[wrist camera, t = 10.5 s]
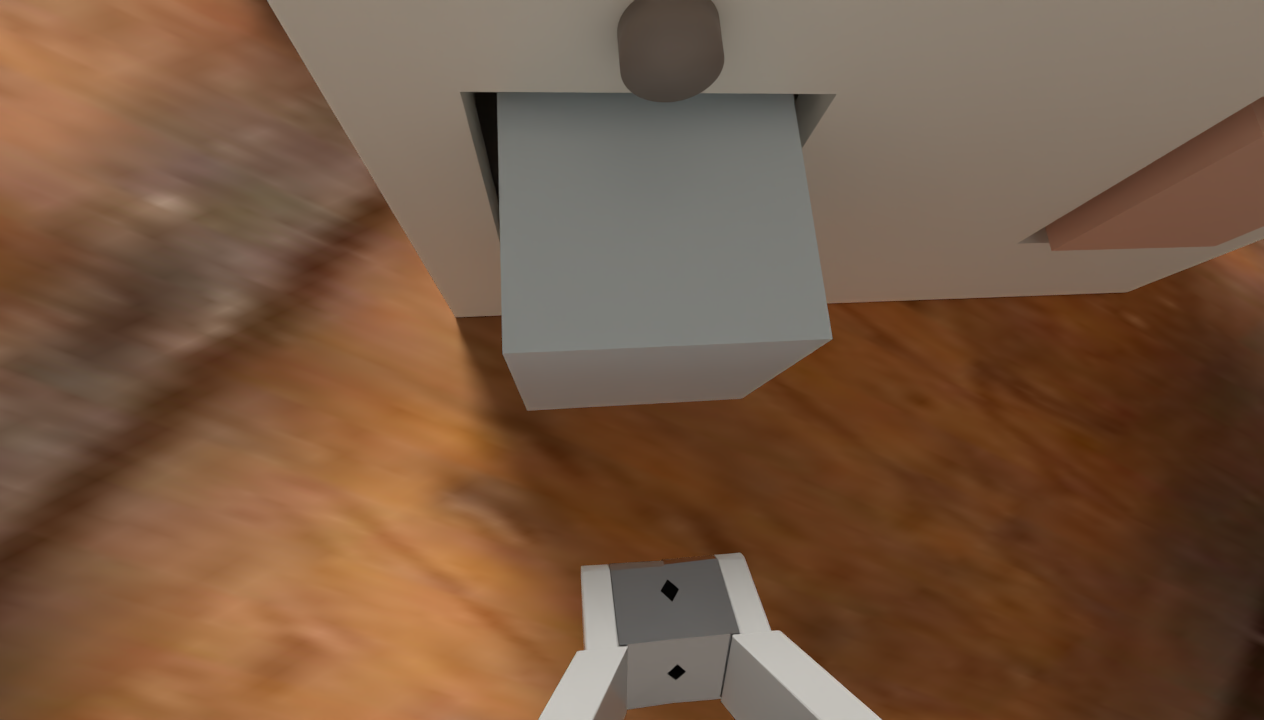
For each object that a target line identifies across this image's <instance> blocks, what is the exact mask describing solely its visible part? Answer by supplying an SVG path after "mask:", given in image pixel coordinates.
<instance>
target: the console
mask: <svg viewBox="0 0 1264 720" xmlns="http://www.w3.org/2000/svg"><path fill="white" fill-rule="evenodd" d="M267 2H268V3H269V5H270V7H271V8H272V10H273V12H274V13H275V15H276V17H277V18H278V20H279V22H280V23H281V25H282V27H283V28H284V30H285V32H286V33H287V35H288V37H289V38H290V40H291V42H292V44H293V45H294V47H295V49H296V50H297V52H298V54H299V55H300V57H301V59H302V60H303V62H304V64H305V65H306V67H307V69H308V70H309V72H310V74H311V75H312V77H313V79H314V81H315V82H316V84H317V86H318V87H319V89H320V91H321V92H322V94H323V96H324V97H325V99H326V101H327V102H328V104H329V106H330V107H331V109H332V111H333V112H334V114H335V116H336V117H337V119H338V121H339V123H340V124H341V126H342V128H343V129H344V131H345V133H346V134H347V136H348V138H349V139H350V141H351V143H352V144H353V146H354V148H355V149H356V151H357V153H358V154H359V156H360V158H361V159H362V161H363V163H364V165H365V166H366V168H367V170H368V171H369V173H370V175H371V176H372V178H373V180H374V181H375V183H376V185H377V186H378V188H379V190H380V191H381V193H382V195H383V196H384V198H385V200H386V202H387V203H388V205H389V207H390V208H391V210H392V212H393V213H394V215H395V217H396V218H397V220H398V222H399V223H400V225H401V227H402V228H403V230H404V232H405V233H406V235H407V237H408V238H409V240H410V242H411V244H412V245H413V247H414V249H415V250H416V252H417V254H418V255H419V257H420V259H421V260H422V262H423V264H424V265H425V267H426V269H427V270H428V272H429V274H430V275H431V277H432V279H433V280H434V282H435V284H436V286H437V287H438V289H439V291H440V292H441V294H442V296H443V297H444V299H445V301H446V302H447V304H448V306H449V307H450V309H451V311H452V312H453V314H454V316H455V317H475V316H502V309H501V261H500V214H499V166H498V118H497V92H576V93H633V94H635V95H636V96H638V97H640V98H643V99H645V100H649V101H654V102H675V101H681V100H685V99H688V98H691V97H693V96H695V95H697V94H699V93H738V94H793V98H794V104H795V110H796V116H797V122H798V129H799V135H800V141H801V147H802V153H803V159H804V166H805V172H806V178H807V184H808V190H809V196H810V202H811V209H812V215H813V221H814V227H815V233H816V239H817V245H818V252H819V258H820V264H821V270H822V276H823V282H824V289H825V295H826V301H827V303H853V302H880V301H907V300H934V299H961V298H988V297H1015V296H1042V295H1069V294H1096V293H1123V292H1129V291H1131V290H1134V289H1137V288H1139V287H1142V286H1144V285H1147V284H1149V283H1152V282H1154V281H1157V280H1159V279H1162V278H1165V277H1167V276H1170V275H1172V274H1175V273H1177V272H1180V271H1182V270H1185V269H1187V268H1190V267H1193V266H1195V265H1198V264H1200V263H1203V262H1205V261H1208V260H1210V259H1213V258H1215V257H1218V256H1220V255H1223V254H1226V253H1228V252H1231V251H1233V250H1236V249H1238V248H1241V247H1243V246H1246V245H1248V244H1251V243H1254V242H1256V241H1259V240H1261V239H1264V226H1263V227H1261V228H1258V229H1256V230H1254V231H1251V232H1249V233H1246V234H1244V235H1241V236H1239V237H1237V238H1234V239H1232V240H1229V241H1227V242H1224V243H1222V244H1220V245H1217V246H1211V247H1175V248H1138V249H1102V250H1066V251H1051V247H1050V243H1049V240H1048V236H1047V232H1046V228H1045V227H1046V226H1047V225H1049V224H1051V223H1052V222H1054V221H1056V220H1057V219H1059V218H1061V217H1062V216H1064V215H1066V214H1067V213H1069V212H1071V211H1072V210H1074V209H1076V208H1077V207H1079V206H1081V205H1082V204H1084V203H1086V202H1087V201H1089V200H1091V199H1092V198H1094V197H1096V196H1097V195H1099V194H1101V193H1102V192H1104V191H1106V190H1107V189H1109V188H1111V187H1112V186H1114V185H1116V184H1117V183H1119V182H1121V181H1122V180H1124V179H1126V178H1127V177H1129V176H1131V175H1132V174H1134V173H1136V172H1137V171H1139V170H1141V169H1142V168H1144V167H1146V166H1147V165H1149V164H1151V163H1152V162H1154V161H1156V160H1157V159H1159V158H1161V157H1162V156H1164V155H1166V154H1167V153H1169V152H1171V151H1172V150H1174V149H1176V148H1177V147H1179V146H1181V145H1182V144H1184V143H1186V142H1187V141H1189V140H1191V139H1192V138H1194V137H1196V136H1197V135H1199V134H1201V133H1202V132H1204V131H1206V130H1207V129H1209V128H1211V127H1212V126H1214V125H1216V124H1217V123H1219V122H1221V121H1222V120H1224V119H1226V118H1227V117H1229V116H1231V115H1233V114H1234V113H1236V112H1238V111H1239V110H1241V109H1243V108H1244V107H1246V106H1248V105H1249V104H1251V103H1253V102H1254V101H1256V100H1258V99H1259V98H1261V97H1264V0H267Z"/></svg>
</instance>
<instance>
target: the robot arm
mask: <svg viewBox="0 0 1264 720" xmlns="http://www.w3.org/2000/svg"><path fill="white" fill-rule="evenodd" d="M581 592H582V622H583V644H584V650H581V651H577V652H576V654H575V656H574V658H573V659H572V661H571V663H570V665H569V666H568V668H567V670H566V672H565V673H564V675H563V677H562V679H561V680H560V682H559V684H558V686H557V687H556V689H555V691H554V693H553V694H552V696H551V698H550V700H549V701H548V703H547V705H546V707H545V708H544V710H543V712H542V714H541V716H540V717H539V719H538V720H624V718H625V716H626V712H627V710H628V709H635V708H642V707H649V706H656V705H662V704H669V703H673V702H674V703H678V702H690V701H701V700H713V699H721V702H722V703H723V705H724V706H725V707H726V708H727V710H728V711H729V712H730V713H731V715H732V716H733V717H734V718H735V719H736V720H882V719H881V718H880V717H878V716H877V715H876V714H875V713H874V712H873V711H872V710H870V709H869V708H868V707H867V706H866V705H865V704H864V703H862V702H861V701H860V700H859V699H858V698H857V697H856V696H854V695H853V694H852V693H851V692H850V691H849V690H848V689H846V688H845V687H844V686H843V685H842V684H841V683H840V682H838V681H837V680H836V679H835V678H834V677H833V676H832V675H830V674H829V673H828V672H827V671H826V670H825V669H824V668H822V667H821V666H820V665H819V664H818V663H817V662H816V661H814V660H813V659H812V658H811V657H810V656H809V655H808V654H806V653H805V652H804V651H803V650H802V649H801V648H800V647H798V646H797V645H796V644H795V643H794V642H793V641H792V640H790V639H789V638H788V637H787V636H786V635H785V634H783V633H782V632H781V631H780V630H775V631H772V630H771V628H770V625H769V622H768V619H767V617H766V614H765V611H764V608H763V606H762V603H761V600H760V598H759V595H758V592H757V589H756V587H755V584H754V581H753V579H752V576H751V573H750V570H749V568H748V565H747V562H746V560H745V557H744V556H743V555H742V554H741V553H730V554H719V555H714V556H713V555H702V556H692V557H682V558H672V559H662V560H661V561H647V562H630V563H613V564H609V565H608V564H601V565H587V566H581Z"/></svg>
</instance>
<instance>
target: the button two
mask: <svg viewBox="0 0 1264 720" xmlns="http://www.w3.org/2000/svg"><path fill="white" fill-rule="evenodd" d="M1263 226H1264V97H1261V98H1259V99H1258V100H1256V101H1254V102H1253V103H1251V104H1249V105H1248V106H1246V107H1244V108H1243V109H1241V110H1239V111H1238V112H1236V113H1234V114H1233V115H1231V116H1229V117H1227V118H1226V119H1224V120H1222V121H1221V122H1219V123H1217V124H1216V125H1214V126H1212V127H1211V128H1209V129H1207V130H1206V131H1204V132H1202V133H1201V134H1199V135H1197V136H1196V137H1194V138H1192V139H1191V140H1189V141H1187V142H1186V143H1184V144H1182V145H1181V146H1179V147H1177V148H1176V149H1174V150H1172V151H1171V152H1169V153H1167V154H1166V155H1164V156H1162V157H1161V158H1159V159H1157V160H1156V161H1154V162H1152V163H1151V164H1149V165H1147V166H1146V167H1144V168H1142V169H1141V170H1139V171H1137V172H1136V173H1134V174H1132V175H1131V176H1129V177H1127V178H1126V179H1124V180H1122V181H1121V182H1119V183H1117V184H1116V185H1114V186H1112V187H1111V188H1109V189H1107V190H1106V191H1104V192H1102V193H1101V194H1099V195H1097V196H1096V197H1094V198H1092V199H1091V200H1089V201H1087V202H1086V203H1084V204H1082V205H1081V206H1079V207H1077V208H1076V209H1074V210H1072V211H1071V212H1069V213H1067V214H1066V215H1064V216H1062V217H1061V218H1059V219H1057V220H1056V221H1054V222H1052V223H1051V224H1049V225H1047V226H1046V227H1045V228H1046V232H1047V236H1048V240H1049V243H1050V247H1051V251H1066V250H1102V249H1138V248H1175V247H1211V246H1217V245H1220V244H1222V243H1224V242H1227V241H1229V240H1232V239H1234V238H1237V237H1239V236H1241V235H1244V234H1246V233H1249V232H1251V231H1254V230H1256V229H1258V228H1261V227H1263Z"/></svg>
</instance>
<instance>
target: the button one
mask: <svg viewBox="0 0 1264 720" xmlns="http://www.w3.org/2000/svg"><path fill="white" fill-rule="evenodd" d="M497 118H498V166H499V214H500V261H501V309H502V354H503V356H504V358H505V361H506V363H507V365H508V368H509V370H510V372H511V375H512V377H513V379H514V381H515V384H516V386H517V388H518V391H519V393H520V395H521V398H522V400H523V402H524V405H525V407H526V409H527V411H531V410H549V409H567V408H585V407H603V406H621V405H639V404H657V403H675V402H693V401H711V400H728V399H742V398H744V397H745V396H747V395H748V394H750V393H751V392H753V391H754V390H756V389H757V388H759V387H760V386H762V385H763V384H765V383H766V382H768V381H769V380H771V379H773V378H774V377H776V376H777V375H779V374H780V373H782V372H783V371H785V370H786V369H788V368H789V367H791V366H792V365H794V364H795V363H797V362H798V361H800V360H801V359H803V358H804V357H806V356H808V355H809V354H811V353H812V352H814V351H815V350H817V349H818V348H820V347H821V346H823V345H824V344H826V343H827V342H829V341H830V340H832V339H833V338H832V332H831V325H830V319H829V313H828V307H827V301H826V295H825V289H824V282H823V276H822V270H821V264H820V258H819V252H818V245H817V239H816V233H815V227H814V221H813V215H812V209H811V202H810V196H809V190H808V184H807V178H806V172H805V166H804V159H803V153H802V147H801V141H800V135H799V129H798V122H797V116H796V110H795V104H794V98H793V94H738V93H699V94H697V95H695V96H693V97H691V98H688V99H685V100H681V101H675V102H654V101H649V100H645V99H643V98H640V97H638V96H636V95H635V94H633V93H576V92H497Z"/></svg>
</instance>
